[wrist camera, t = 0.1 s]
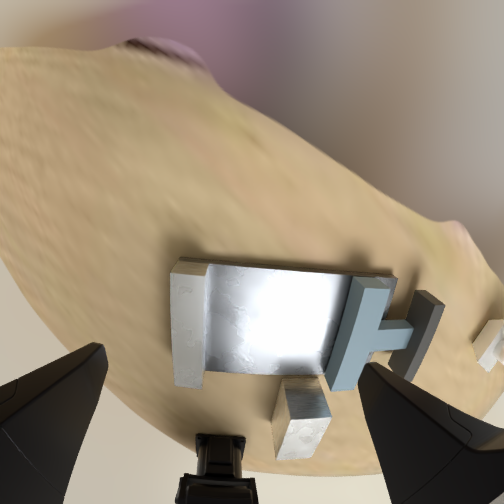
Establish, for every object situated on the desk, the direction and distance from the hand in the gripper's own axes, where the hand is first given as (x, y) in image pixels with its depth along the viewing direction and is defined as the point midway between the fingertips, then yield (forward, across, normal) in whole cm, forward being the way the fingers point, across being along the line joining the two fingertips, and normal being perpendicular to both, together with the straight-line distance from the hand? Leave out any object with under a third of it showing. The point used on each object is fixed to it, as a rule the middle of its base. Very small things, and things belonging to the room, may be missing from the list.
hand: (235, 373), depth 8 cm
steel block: (+15, -8, +18) cm, 24 cm away
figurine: (+15, -38, +10) cm, 42 cm away
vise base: (+15, -5, +7) cm, 17 cm away
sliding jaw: (+13, -14, +7) cm, 21 cm away
